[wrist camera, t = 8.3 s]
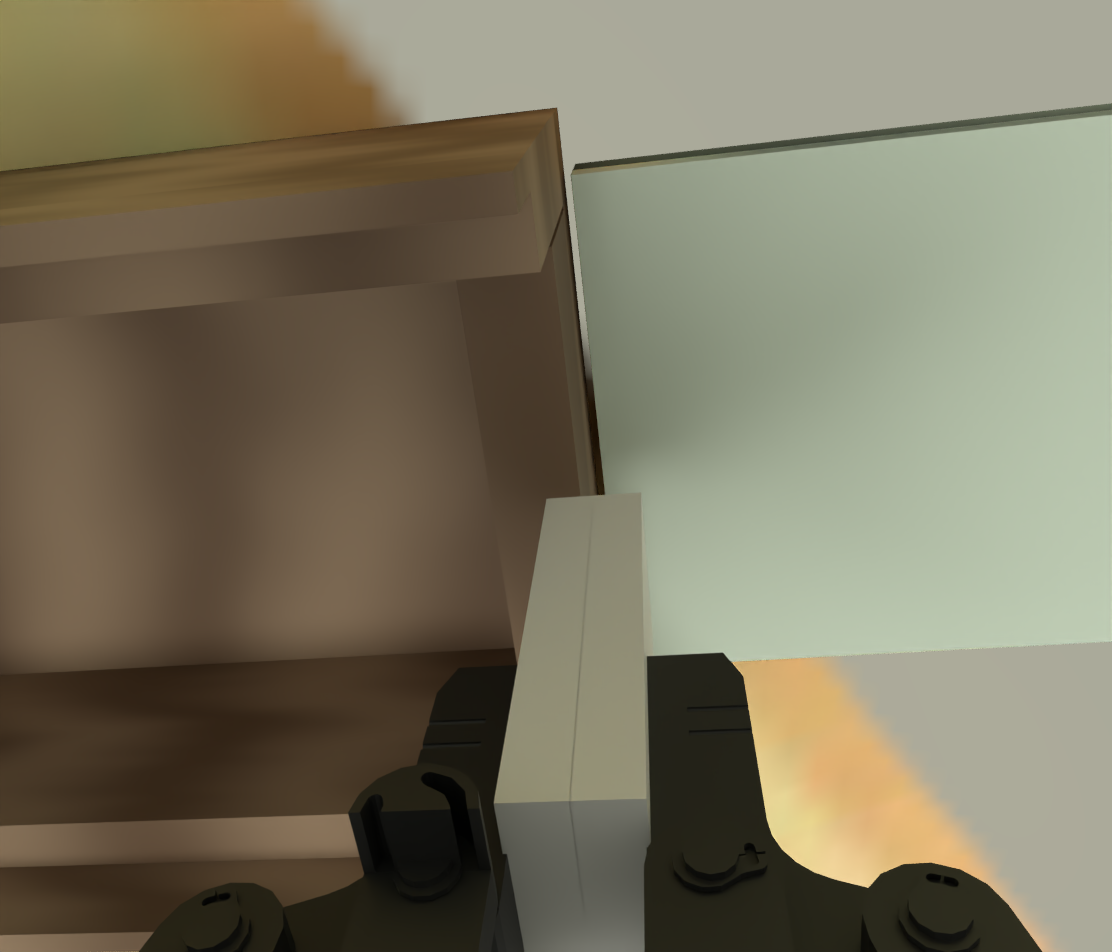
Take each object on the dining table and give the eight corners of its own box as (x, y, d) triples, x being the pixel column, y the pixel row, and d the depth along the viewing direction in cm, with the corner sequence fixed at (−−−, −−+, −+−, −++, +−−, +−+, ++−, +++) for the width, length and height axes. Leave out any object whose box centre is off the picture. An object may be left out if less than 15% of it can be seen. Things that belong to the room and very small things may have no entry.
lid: (624, 630, 24) (623, 667, 23) (574, 164, 20) (571, 175, 18) (1368, 588, 22) (1415, 625, 21) (1512, 57, 18) (1585, 61, 16)
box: (-64, 706, 26) (-314, 959, 19) (-305, 206, 20) (-781, 310, 13) (616, 672, 24) (611, 942, 17) (557, 107, 18) (513, 170, 11)
